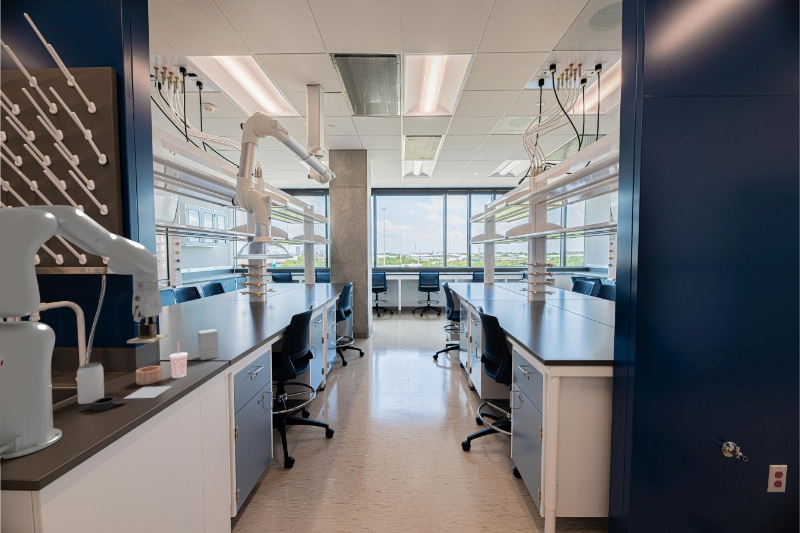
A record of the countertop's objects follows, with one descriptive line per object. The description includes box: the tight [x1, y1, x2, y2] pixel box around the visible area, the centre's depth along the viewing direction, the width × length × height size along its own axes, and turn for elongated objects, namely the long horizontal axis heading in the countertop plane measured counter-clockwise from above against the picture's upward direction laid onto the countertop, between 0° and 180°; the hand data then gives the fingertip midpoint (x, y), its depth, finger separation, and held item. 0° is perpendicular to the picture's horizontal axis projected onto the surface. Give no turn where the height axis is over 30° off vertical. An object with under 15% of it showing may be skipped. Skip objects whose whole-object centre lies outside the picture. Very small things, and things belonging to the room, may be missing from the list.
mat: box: [123, 385, 173, 400], centre depth 118 cm, size 10×10×1 cm
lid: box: [126, 323, 169, 344], centre depth 128 cm, size 9×9×6 cm
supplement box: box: [197, 328, 219, 361], centre depth 160 cm, size 7×7×13 cm
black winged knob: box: [80, 395, 128, 413], centre depth 107 cm, size 8×10×3 cm
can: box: [76, 362, 105, 405], centre depth 112 cm, size 6×6×12 cm
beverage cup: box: [169, 341, 189, 379], centre depth 134 cm, size 6×6×14 cm
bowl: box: [135, 365, 162, 386], centre depth 129 cm, size 8×8×5 cm
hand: (147, 334), depth 128 cm, fingers closed on lid
